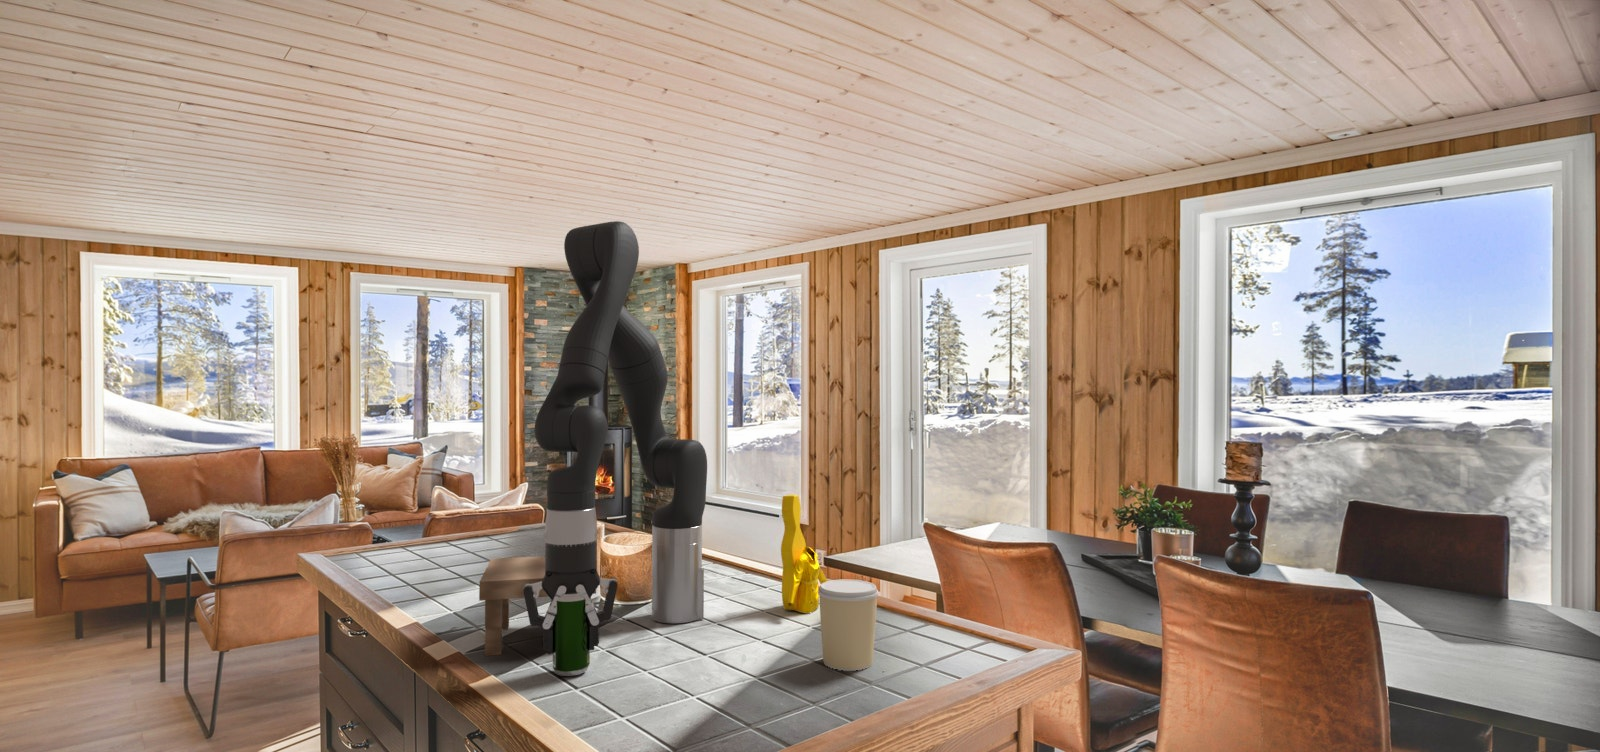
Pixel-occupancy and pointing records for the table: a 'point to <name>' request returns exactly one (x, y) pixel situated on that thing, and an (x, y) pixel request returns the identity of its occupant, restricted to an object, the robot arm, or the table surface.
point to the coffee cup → (848, 623)
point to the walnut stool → (506, 593)
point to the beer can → (571, 635)
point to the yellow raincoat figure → (798, 562)
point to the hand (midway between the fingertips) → (571, 650)
